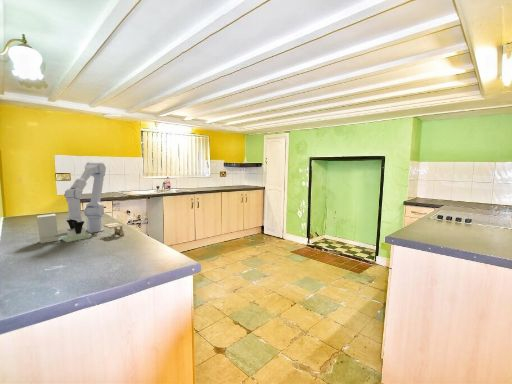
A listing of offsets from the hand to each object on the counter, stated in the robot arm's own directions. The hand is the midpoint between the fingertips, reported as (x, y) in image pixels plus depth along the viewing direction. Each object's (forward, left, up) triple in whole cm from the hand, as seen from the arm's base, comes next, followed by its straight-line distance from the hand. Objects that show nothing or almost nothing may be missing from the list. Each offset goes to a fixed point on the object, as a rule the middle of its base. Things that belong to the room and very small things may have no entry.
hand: (76, 232), depth 150 cm
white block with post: (0, -3, -3) cm, 4 cm away
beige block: (+10, +16, -3) cm, 19 cm away
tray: (0, 0, -3) cm, 3 cm away
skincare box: (-6, -12, -4) cm, 13 cm away
